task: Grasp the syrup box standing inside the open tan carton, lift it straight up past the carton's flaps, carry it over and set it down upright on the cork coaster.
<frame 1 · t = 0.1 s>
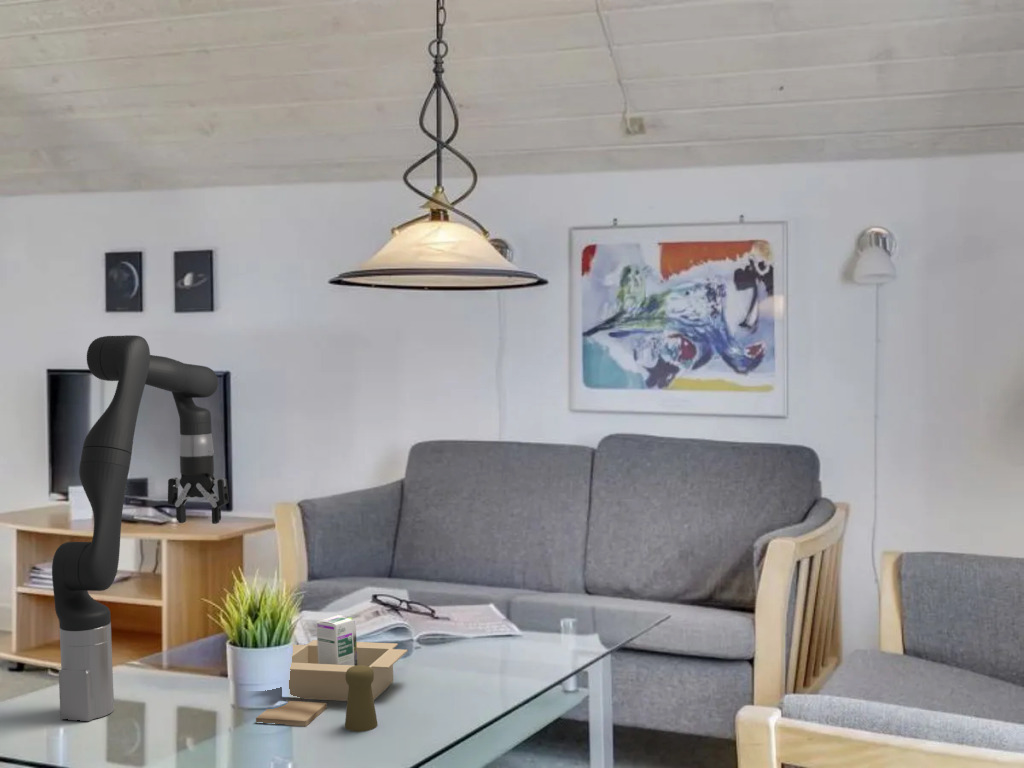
hand: (199, 522, 255), 29 cm above the table, tool pointing down, fingers open, 8 cm apart
syrup box: (338, 690, 223), resting in carton
carton: (338, 689, 223), on the table
coaster: (292, 715, 208), on the table
pepper shaker: (361, 726, 202), on the table
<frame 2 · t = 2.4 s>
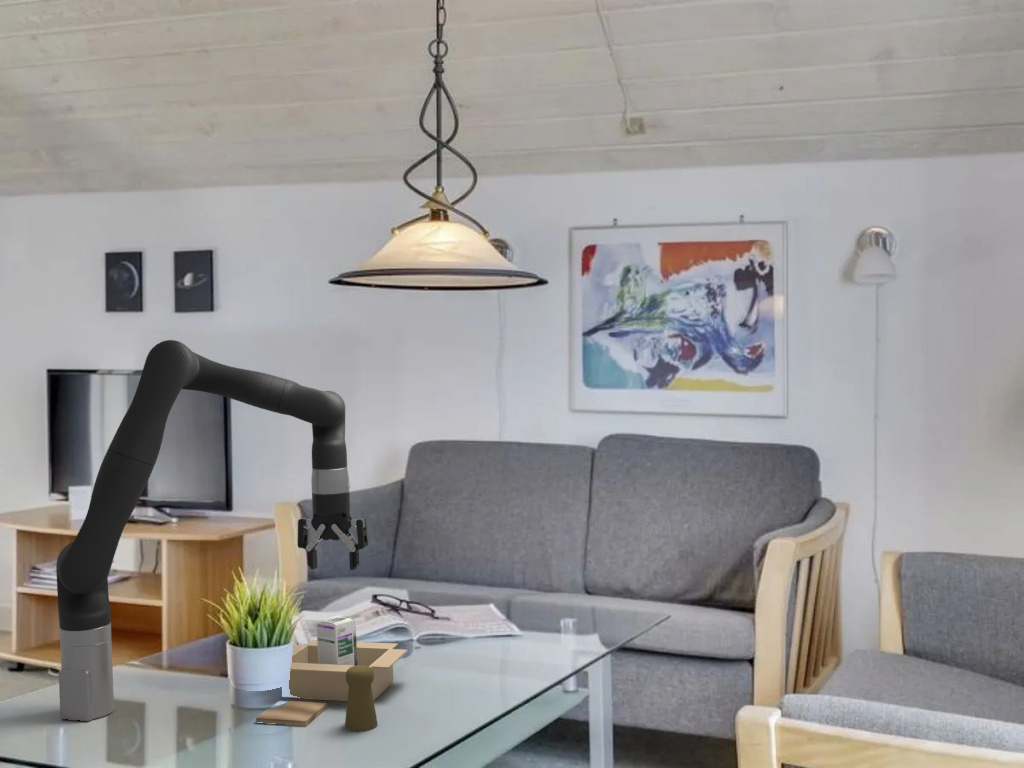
hand: (333, 569, 223), 25 cm above the table, tool pointing down, fingers open, 8 cm apart
nothing on the table moved.
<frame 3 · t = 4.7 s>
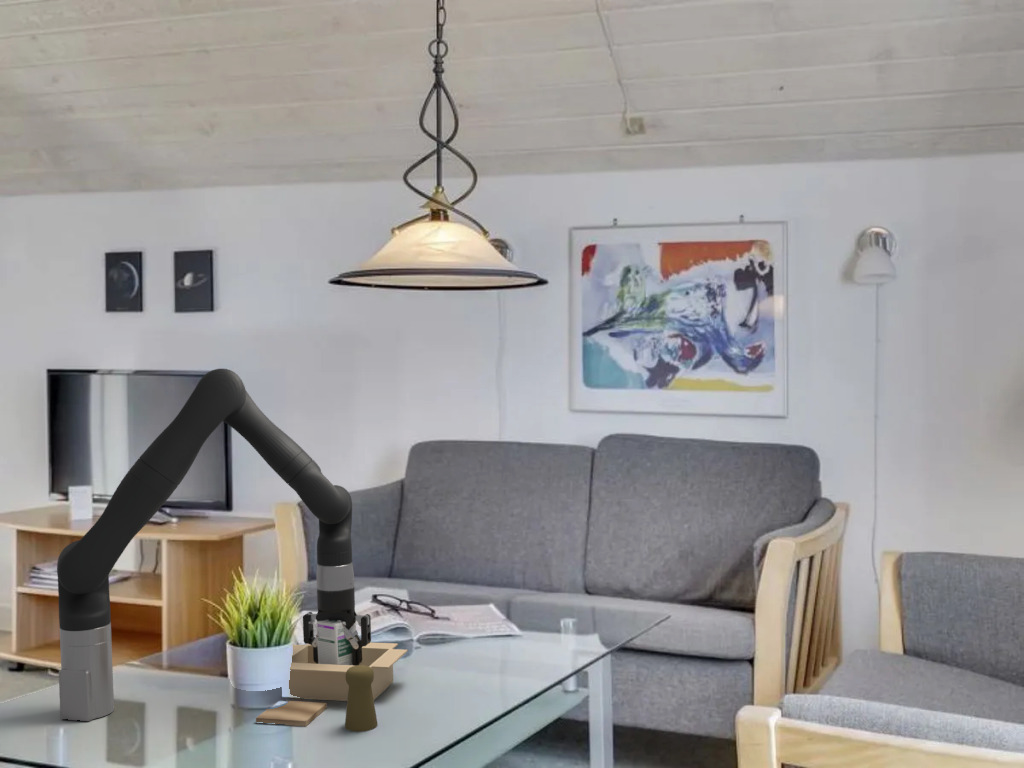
hand: (338, 664, 223), 5 cm above the table, tool pointing down, fingers closed on syrup box, 7 cm apart
syrup box: (338, 690, 223), resting in carton, touching gripper
everything else where it was.
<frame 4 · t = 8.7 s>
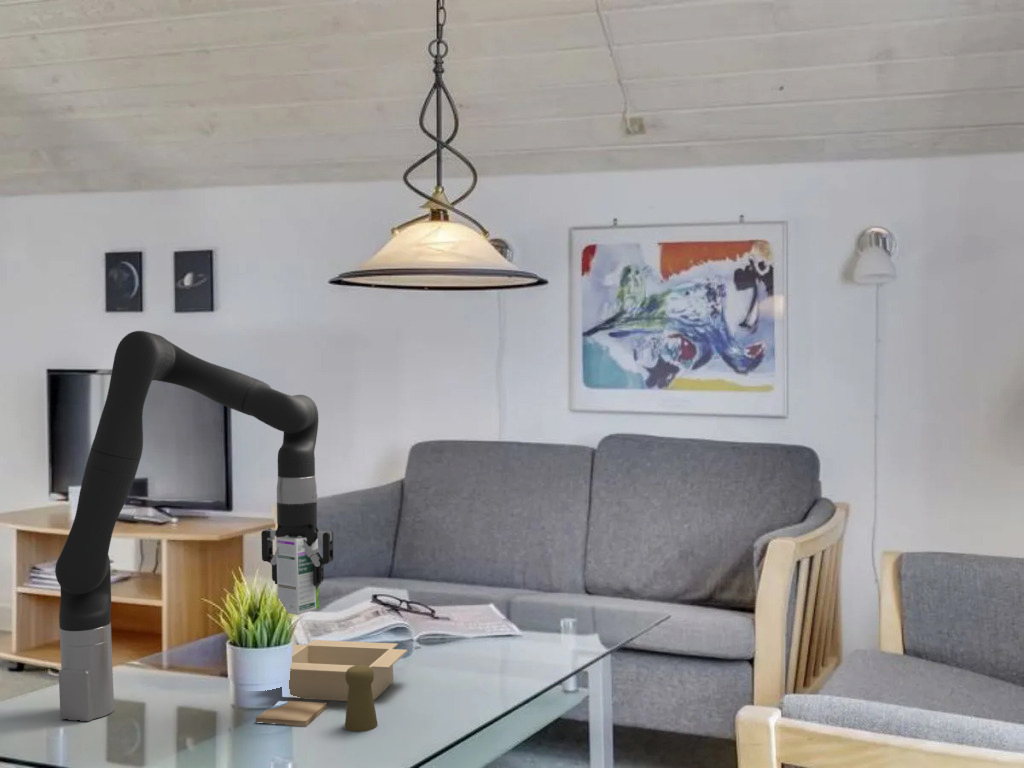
hand: (298, 584, 211), 24 cm above the table, tool pointing down, fingers closed on syrup box, 7 cm apart
syrup box: (298, 611, 211), point 19 cm above the table, touching gripper
everything else where it was.
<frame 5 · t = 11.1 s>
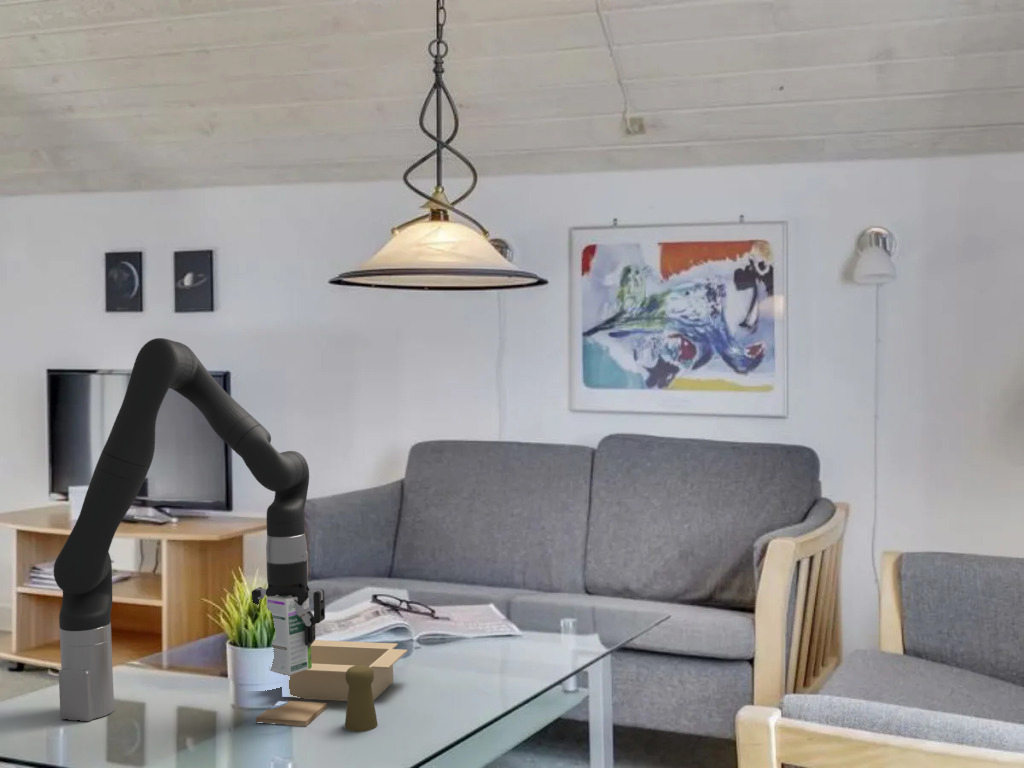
hand: (289, 643, 208), 14 cm above the table, tool pointing down, fingers closed on syrup box, 7 cm apart
syrup box: (290, 670, 208), point 9 cm above the table, touching gripper
everything else where it was.
when the fingers open (7 cm above the table, at t = 13.0 s): syrup box drops 1 cm, resting on coaster.
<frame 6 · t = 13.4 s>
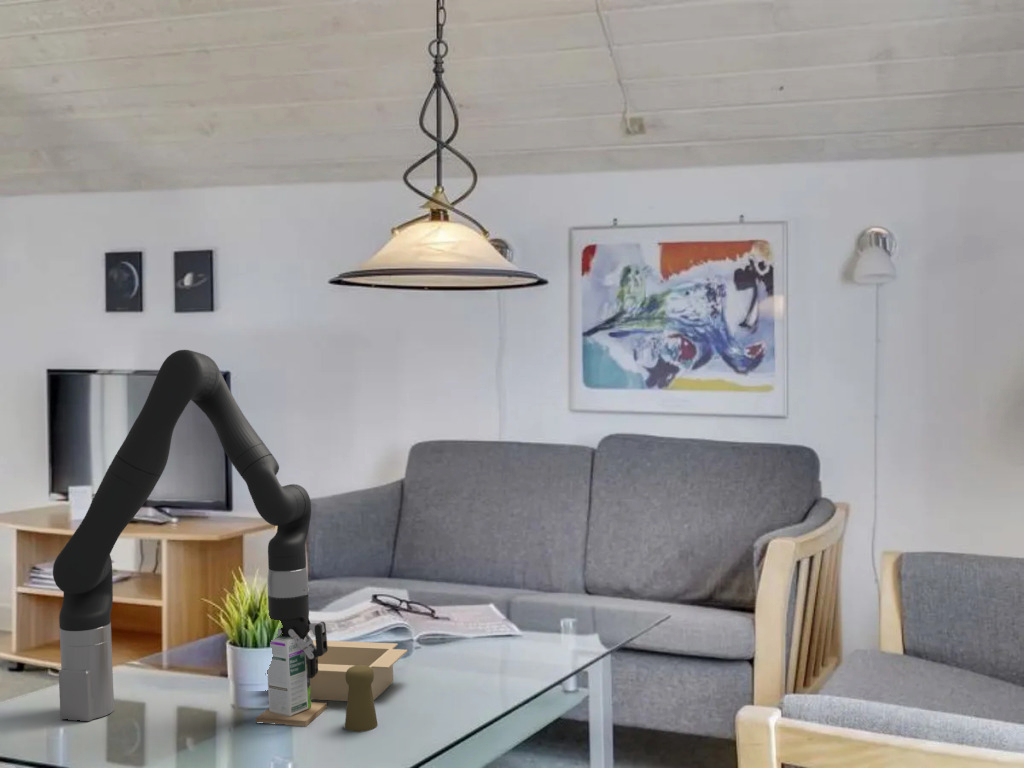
hand: (290, 676, 208), 8 cm above the table, tool pointing down, fingers open, 8 cm apart
syrup box: (289, 711, 208), point 1 cm above the table, touching coaster
everything else where it was.
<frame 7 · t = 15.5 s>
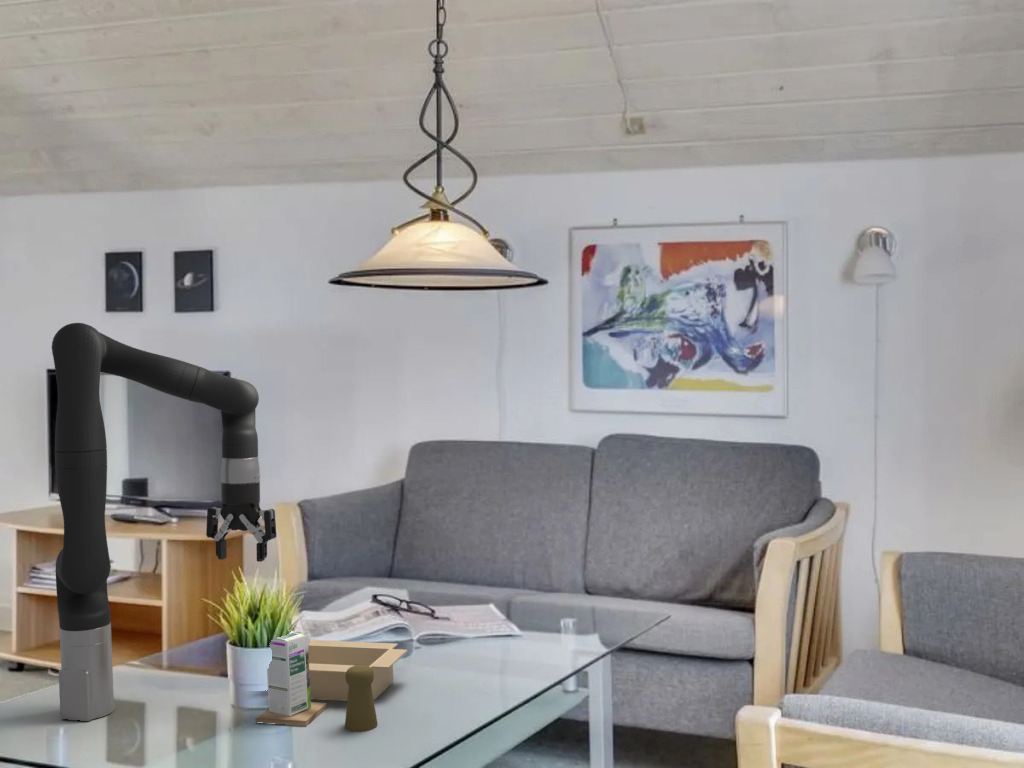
hand: (241, 560, 220), 27 cm above the table, tool pointing down, fingers open, 8 cm apart
nothing on the table moved.
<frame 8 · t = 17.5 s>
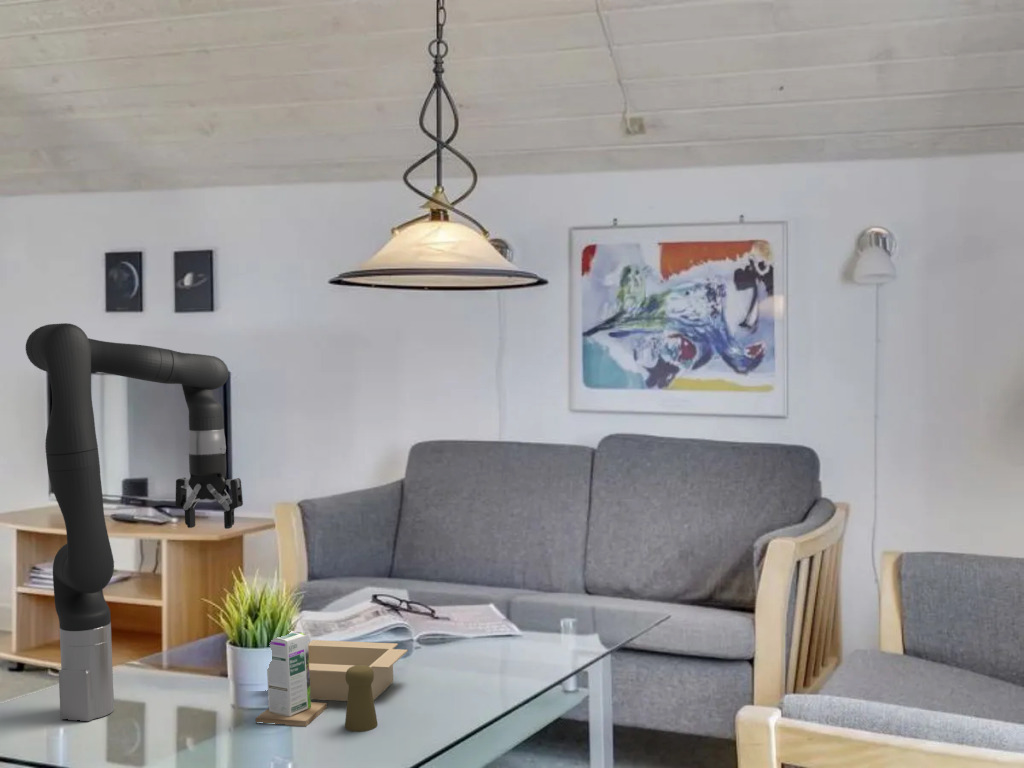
hand: (209, 527, 231), 32 cm above the table, tool pointing down, fingers open, 8 cm apart
nothing on the table moved.
at the end: syrup box inside the target area on the coaster (0.5 cm from its centre), point 0.8 cm above the coaster's base; syrup box tilted 0°; the gripper is holding nothing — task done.
